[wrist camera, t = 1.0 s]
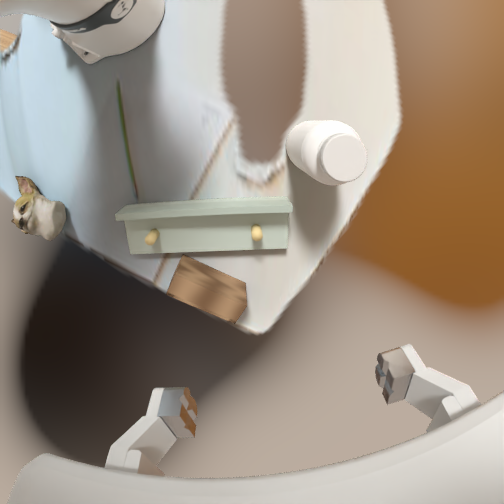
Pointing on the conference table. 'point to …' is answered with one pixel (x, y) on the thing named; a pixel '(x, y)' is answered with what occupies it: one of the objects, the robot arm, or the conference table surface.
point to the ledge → (207, 225)
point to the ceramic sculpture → (37, 211)
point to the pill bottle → (327, 151)
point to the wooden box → (208, 289)
